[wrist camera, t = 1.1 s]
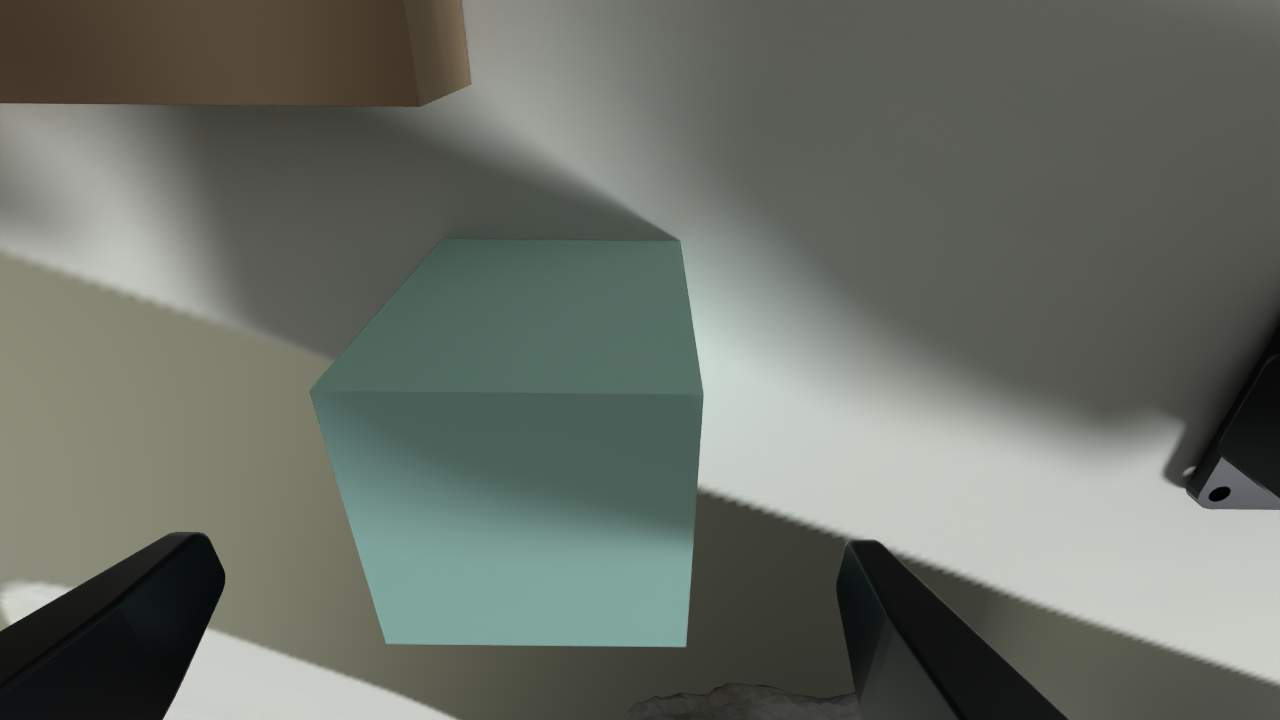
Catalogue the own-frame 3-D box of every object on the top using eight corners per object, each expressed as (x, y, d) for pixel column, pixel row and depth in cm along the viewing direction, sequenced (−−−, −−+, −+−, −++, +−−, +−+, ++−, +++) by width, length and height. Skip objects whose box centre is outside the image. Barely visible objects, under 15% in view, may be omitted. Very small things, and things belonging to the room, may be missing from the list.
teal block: (680, 240, 13) (703, 394, 8) (672, 432, 16) (686, 647, 10) (443, 237, 13) (309, 390, 8) (473, 430, 16) (386, 643, 10)
